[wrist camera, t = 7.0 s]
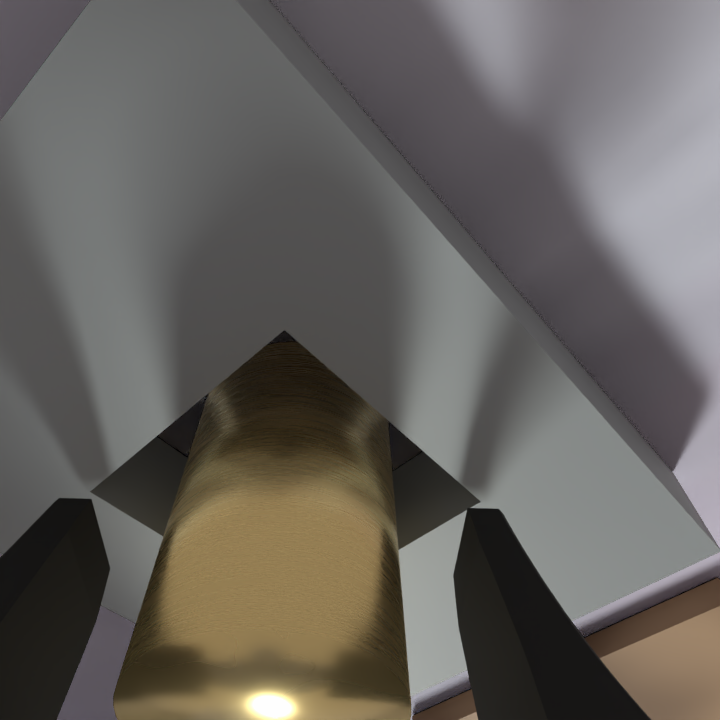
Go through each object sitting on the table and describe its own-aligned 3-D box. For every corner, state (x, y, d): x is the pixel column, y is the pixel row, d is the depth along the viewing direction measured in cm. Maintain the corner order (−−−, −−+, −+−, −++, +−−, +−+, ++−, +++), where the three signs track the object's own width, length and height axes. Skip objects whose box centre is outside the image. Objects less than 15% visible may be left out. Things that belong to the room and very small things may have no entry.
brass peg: (383, 483, 16) (401, 780, 10) (215, 482, 16) (141, 782, 10) (392, 343, 14) (423, 630, 8) (195, 340, 14) (82, 629, 8)
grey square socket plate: (340, 650, 21) (339, 729, 18) (-146, 359, 14) (-233, 431, 12) (673, 473, 16) (720, 551, 14) (199, -82, 9) (157, -89, 7)
